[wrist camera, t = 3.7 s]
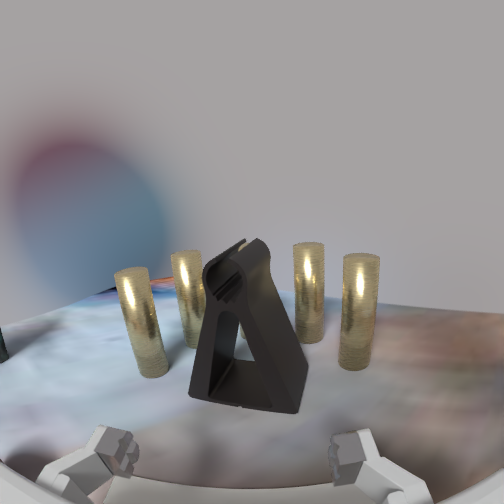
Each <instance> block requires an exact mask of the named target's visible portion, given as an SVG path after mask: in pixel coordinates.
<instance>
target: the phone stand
mask: <svg viewBox="0 0 504 504" xmlns="http://www.w3.org/2000/svg"><path fill="white" fill-rule="evenodd" d="M245 242H246V239H243V240H241V241H240V242H238V243H237V244H235V245H234V246H232V247H230V248H229V249H227V250H226V251H224V252H223V253H221V254H219V255H218V256H216V257H215V258H213V259H212V260H210V261H209V262H208V263H207V264H206V265H205V267H204V269H203V272H202V283H203V286H204V290H205V295H206V308H205V313H204V317H203V322H202V327H201V331H200V336H199V341H198V346H197V351H196V356H195V361H194V366H193V371H192V376H191V381H190V386H189V392H188V394H189V396H190V397H192V398H196V399H200V400H205V401H209V402H214V403H219V404H225V405H230V406H236V407H238V406H242V408H248V409H254V410H262V411H269V412H277V413H287V414H296V413H297V412H298V408H299V404H300V400H301V395H302V391H303V387H304V383H305V378H306V374H307V370H308V363H307V361H306V359H305V356H304V354H303V351H302V349H301V347H300V344H299V342H298V339H297V337H296V335H295V332H294V330H293V328H292V325H291V323H290V320H289V318H288V316H287V313H286V311H285V308H284V306H283V304H282V301H281V299H280V297H279V294H278V292H277V290H276V287H275V285H274V282H273V280H272V277H271V273H270V258H271V256H270V251H269V249H268V247H267V245H266V244H265V243H264V242H263V241H261V240H260V239H257V238H256V239H255V240H253V241H252V242H251V243H249V244H248V245H246V246H245V247H244V248H242V249H241V250H240V251H238V250H239V248H240V246H241V245H242V244H244V243H245ZM239 322H240V324H241V326H242V329H243V332H244V334H245V337H246V340H247V342H248V345H249V347H250V350H251V353H252V355H253V358H254V360H255V361H246V360H237V359H235V358H234V357H233V355H234V349H235V344H236V338H237V333H238V327H239Z"/></svg>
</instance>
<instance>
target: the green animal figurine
mask: <svg viewBox="0 0 504 504" xmlns="http://www.w3.org/2000/svg"><path fill="white" fill-rule="evenodd" d="M8 358H9V356H8V353H7V350H6V347H5V343H4V339H3V336H2V332H1V328H0V363H2V362H4V361H6V360H7V359H8Z"/></svg>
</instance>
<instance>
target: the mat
mask: <svg viewBox="0 0 504 504" xmlns="http://www.w3.org/2000/svg"><path fill="white" fill-rule="evenodd" d="M354 484H355V483H354ZM354 484H348V485H342V486H336V487H334V486H333V483H326V484H319V485H311V486H302V487H291V488H276V489H224V488H208V487H197V486H188V485H180V484H173V483H167V482H161V481H155V480H150V479H145V478H140V477H136V476H131V478H130V479H127V478H123V477H119V476H115V477H114V480H113V482H112V484H111V486H110V489H109V491H108V493H107V496H106V498H105V500H104V503H103V504H376V503H375V502H374V501H373V500H371V499H370V498H369V497H368V496H367V495H366V494H365V493H363V492H362V491H361V490H360V489H359V488H358V487H357V486H356V485H354Z"/></svg>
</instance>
